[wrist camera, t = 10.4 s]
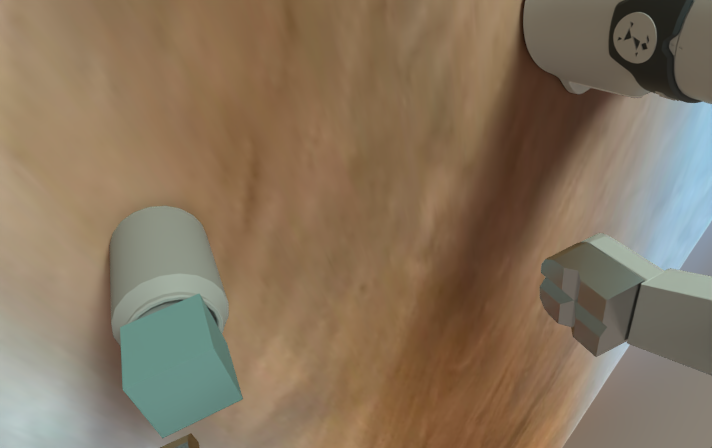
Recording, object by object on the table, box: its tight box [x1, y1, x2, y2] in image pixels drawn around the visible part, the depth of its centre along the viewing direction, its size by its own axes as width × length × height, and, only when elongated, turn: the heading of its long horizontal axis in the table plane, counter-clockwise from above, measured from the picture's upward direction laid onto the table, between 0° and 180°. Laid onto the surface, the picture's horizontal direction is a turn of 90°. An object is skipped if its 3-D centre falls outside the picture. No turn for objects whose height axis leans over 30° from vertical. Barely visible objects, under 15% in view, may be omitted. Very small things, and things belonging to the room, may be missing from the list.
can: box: [110, 206, 228, 346], centre depth 36 cm, size 8×8×12 cm
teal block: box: [120, 293, 243, 438], centre depth 30 cm, size 5×5×5 cm
